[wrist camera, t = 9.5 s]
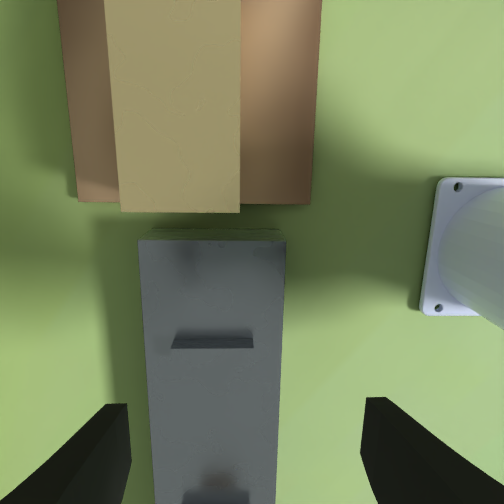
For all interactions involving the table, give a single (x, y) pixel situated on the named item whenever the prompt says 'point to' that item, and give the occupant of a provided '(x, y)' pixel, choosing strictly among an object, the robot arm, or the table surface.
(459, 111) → the table surface
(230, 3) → the tan rectangular block
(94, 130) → the walnut board
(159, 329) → the body
